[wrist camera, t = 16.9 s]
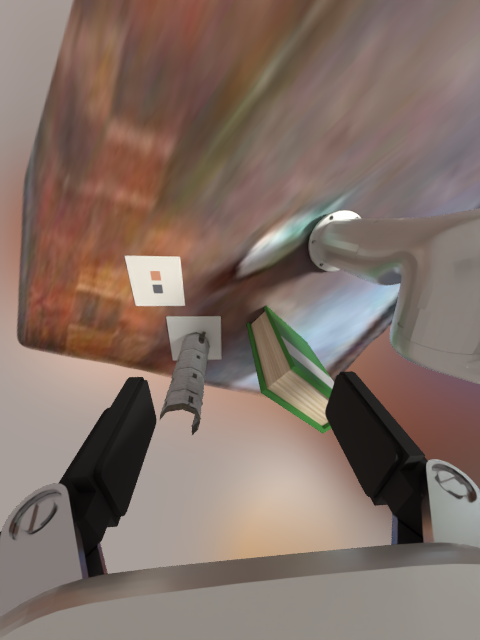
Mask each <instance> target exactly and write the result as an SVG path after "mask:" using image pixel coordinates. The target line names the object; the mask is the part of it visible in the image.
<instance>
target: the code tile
mask: <svg viewBox="0 0 480 640" xmlns="http://www.w3.org/2000/svg"><path fill="white" fill-rule="evenodd" d="M125 260H126V264H127V269H128V273H129V278H130V282H131V287H132V291H133V296H134V300H135V304H136V306H185V300H184V290H183V280H182V270H181V261H180V257H170V256H125Z"/></svg>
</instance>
